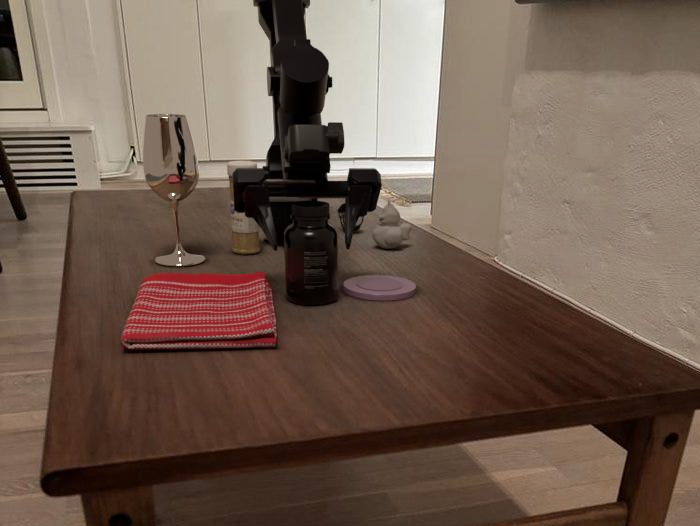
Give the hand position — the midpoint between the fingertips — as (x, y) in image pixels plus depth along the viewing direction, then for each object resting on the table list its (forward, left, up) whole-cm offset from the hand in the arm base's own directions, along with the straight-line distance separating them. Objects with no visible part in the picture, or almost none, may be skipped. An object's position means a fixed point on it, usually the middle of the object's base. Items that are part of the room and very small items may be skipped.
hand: (312, 248), depth 93 cm
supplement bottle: (-1, -1, -7) cm, 7 cm away
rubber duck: (-32, -11, -7) cm, 34 cm away
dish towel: (+14, -5, -7) cm, 16 cm away
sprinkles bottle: (-13, -26, -7) cm, 30 cm away
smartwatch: (-37, -24, -7) cm, 45 cm away
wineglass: (-2, -29, -7) cm, 30 cm away
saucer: (-10, +3, -7) cm, 13 cm away
